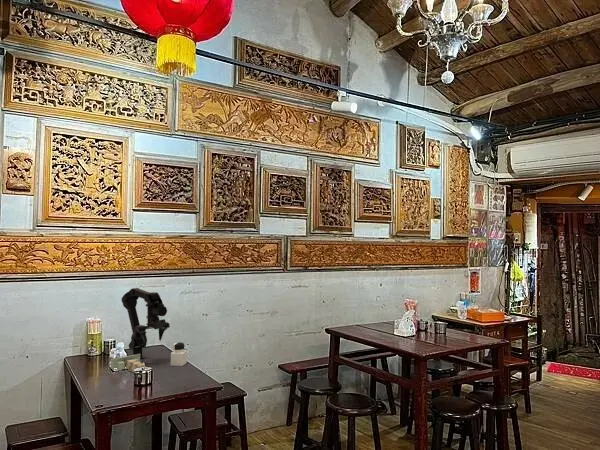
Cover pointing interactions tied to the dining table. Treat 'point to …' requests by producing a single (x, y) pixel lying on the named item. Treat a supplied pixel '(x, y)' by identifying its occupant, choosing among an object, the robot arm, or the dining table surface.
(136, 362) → the rail
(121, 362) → the grey block
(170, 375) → the dining table surface
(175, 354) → the medicine bottle
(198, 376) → the dining table surface
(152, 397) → the dining table surface
